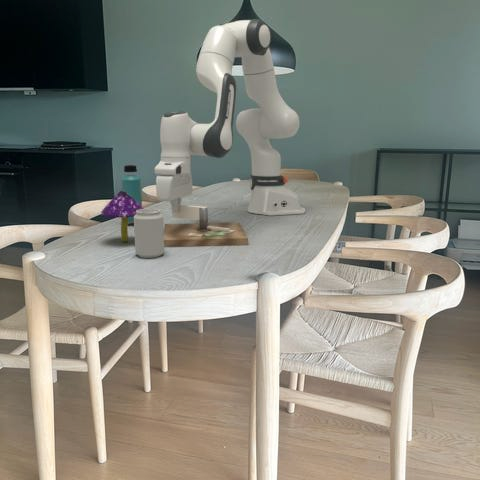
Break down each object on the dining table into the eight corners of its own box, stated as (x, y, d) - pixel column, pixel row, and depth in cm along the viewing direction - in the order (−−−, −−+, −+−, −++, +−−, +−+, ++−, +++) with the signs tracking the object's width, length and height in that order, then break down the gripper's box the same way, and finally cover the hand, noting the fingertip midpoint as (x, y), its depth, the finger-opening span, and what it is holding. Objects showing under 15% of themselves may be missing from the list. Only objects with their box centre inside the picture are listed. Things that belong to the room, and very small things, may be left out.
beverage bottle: (146, 223, 166) (144, 164, 161) (136, 227, 160) (133, 166, 155) (130, 222, 168) (127, 164, 163) (119, 225, 162) (116, 165, 157)
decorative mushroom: (125, 249, 131) (122, 195, 128) (93, 243, 138) (89, 191, 134) (156, 240, 142) (154, 189, 138) (125, 235, 148) (122, 186, 144)
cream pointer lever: (231, 231, 144) (231, 209, 142) (227, 232, 141) (227, 210, 140) (176, 224, 153) (176, 203, 151) (171, 226, 151) (171, 204, 149)
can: (137, 251, 129) (135, 207, 127) (165, 251, 130) (163, 207, 127) (133, 259, 122) (131, 212, 119) (163, 258, 123) (161, 212, 120)
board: (239, 228, 158) (239, 221, 158) (248, 244, 137) (248, 237, 136) (165, 230, 155) (164, 223, 155) (162, 247, 134) (162, 239, 134)
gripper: (178, 164, 155) (179, 207, 158) (151, 168, 136) (152, 217, 139) (197, 165, 153) (197, 208, 156) (172, 169, 134) (173, 218, 137)
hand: (176, 212), depth 147 cm, fingers closed
